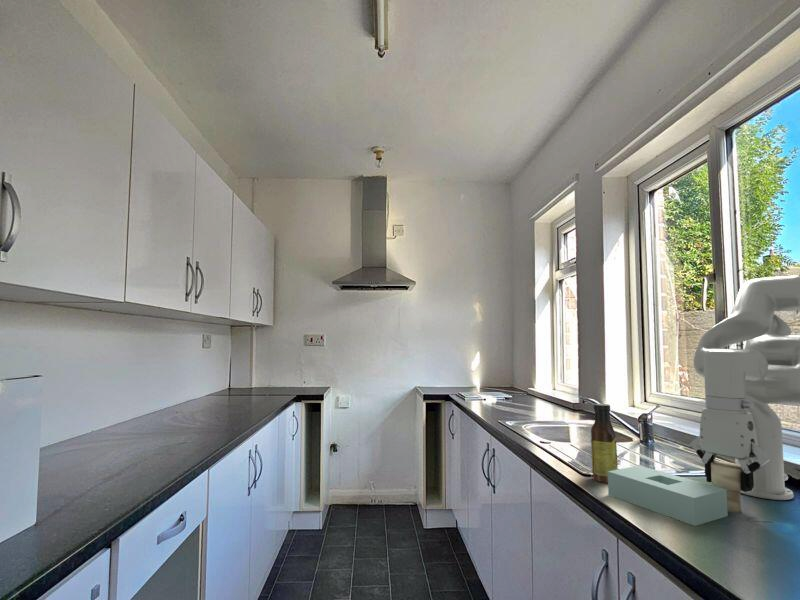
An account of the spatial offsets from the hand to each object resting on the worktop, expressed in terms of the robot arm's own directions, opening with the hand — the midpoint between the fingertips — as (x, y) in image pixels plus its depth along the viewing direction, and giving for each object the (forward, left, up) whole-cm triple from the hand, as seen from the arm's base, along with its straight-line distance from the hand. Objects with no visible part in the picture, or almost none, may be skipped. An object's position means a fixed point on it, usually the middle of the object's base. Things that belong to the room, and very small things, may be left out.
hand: (728, 485), depth 101 cm
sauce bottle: (+8, -26, -5) cm, 28 cm away
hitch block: (+11, -8, -5) cm, 15 cm away
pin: (0, 0, -5) cm, 5 cm away
